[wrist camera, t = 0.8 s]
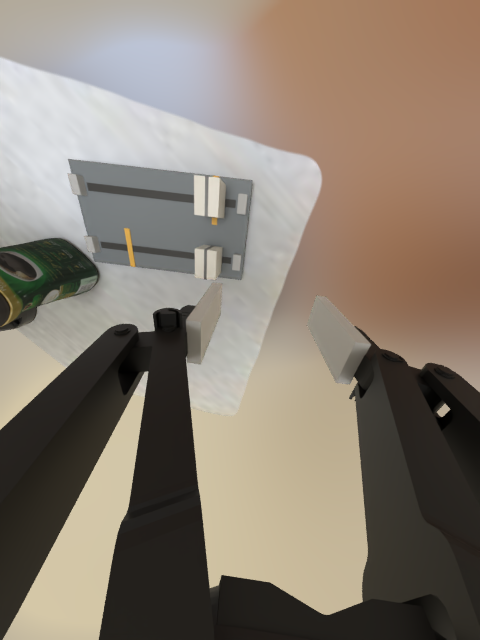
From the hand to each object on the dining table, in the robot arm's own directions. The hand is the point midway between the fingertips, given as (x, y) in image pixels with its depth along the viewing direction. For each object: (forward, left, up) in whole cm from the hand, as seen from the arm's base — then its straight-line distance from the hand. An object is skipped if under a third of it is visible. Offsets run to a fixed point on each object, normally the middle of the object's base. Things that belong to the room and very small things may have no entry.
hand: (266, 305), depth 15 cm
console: (-16, +4, -19) cm, 25 cm away
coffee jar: (-35, -5, -19) cm, 40 cm away
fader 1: (-8, +8, -17) cm, 20 cm away
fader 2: (-8, 0, -17) cm, 19 cm away
